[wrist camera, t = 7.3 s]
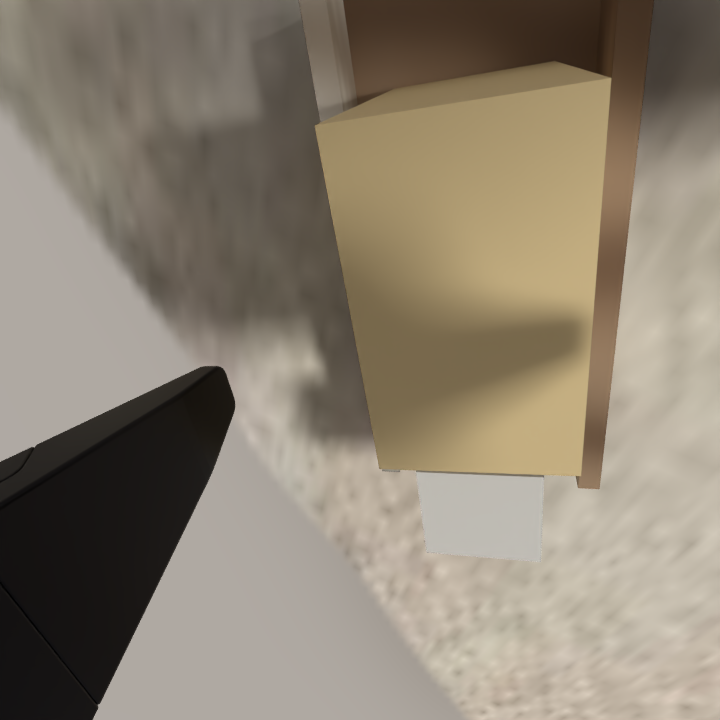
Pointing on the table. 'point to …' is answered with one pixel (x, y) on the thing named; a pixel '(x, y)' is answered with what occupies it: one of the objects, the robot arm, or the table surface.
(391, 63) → the shelf
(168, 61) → the table surface
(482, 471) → the carton
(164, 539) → the robot arm
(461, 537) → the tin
